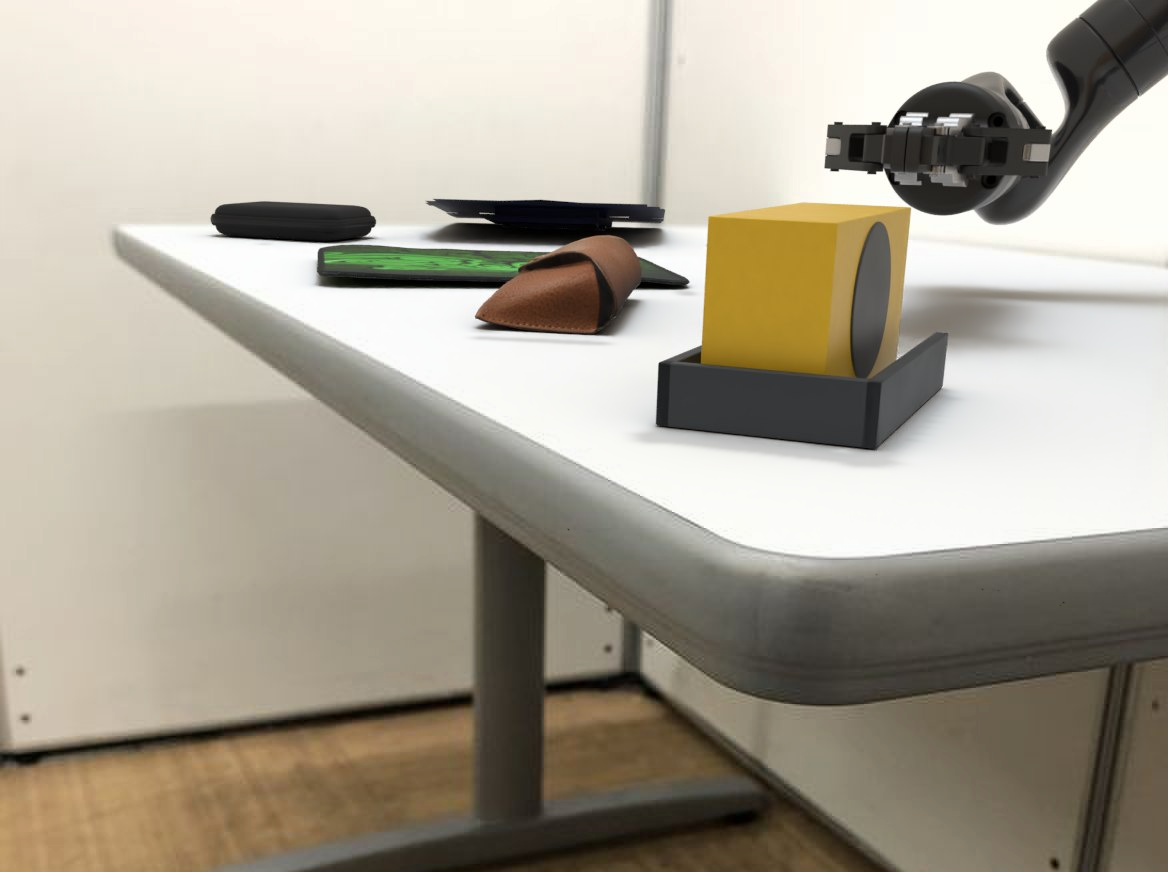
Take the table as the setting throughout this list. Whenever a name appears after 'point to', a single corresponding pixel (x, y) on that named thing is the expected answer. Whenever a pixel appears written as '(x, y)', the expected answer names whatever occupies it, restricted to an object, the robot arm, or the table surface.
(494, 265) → the mouse mat
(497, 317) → the sunglasses case
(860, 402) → the u-shaped bracket
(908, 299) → the table surface
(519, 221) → the black angular plate
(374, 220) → the carrying case
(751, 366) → the tape measure
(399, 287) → the table surface
